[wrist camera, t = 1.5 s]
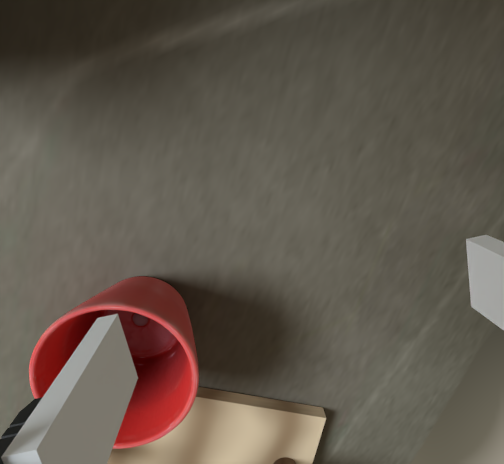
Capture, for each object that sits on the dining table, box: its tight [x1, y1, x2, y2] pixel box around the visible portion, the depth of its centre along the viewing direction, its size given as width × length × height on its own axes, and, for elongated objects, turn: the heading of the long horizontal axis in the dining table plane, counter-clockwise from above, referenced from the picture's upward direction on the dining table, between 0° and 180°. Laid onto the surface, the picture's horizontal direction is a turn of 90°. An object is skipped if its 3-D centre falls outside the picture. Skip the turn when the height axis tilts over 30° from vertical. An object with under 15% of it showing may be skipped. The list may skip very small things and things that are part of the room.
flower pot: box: [29, 276, 199, 449], centre depth 32 cm, size 11×11×10 cm
